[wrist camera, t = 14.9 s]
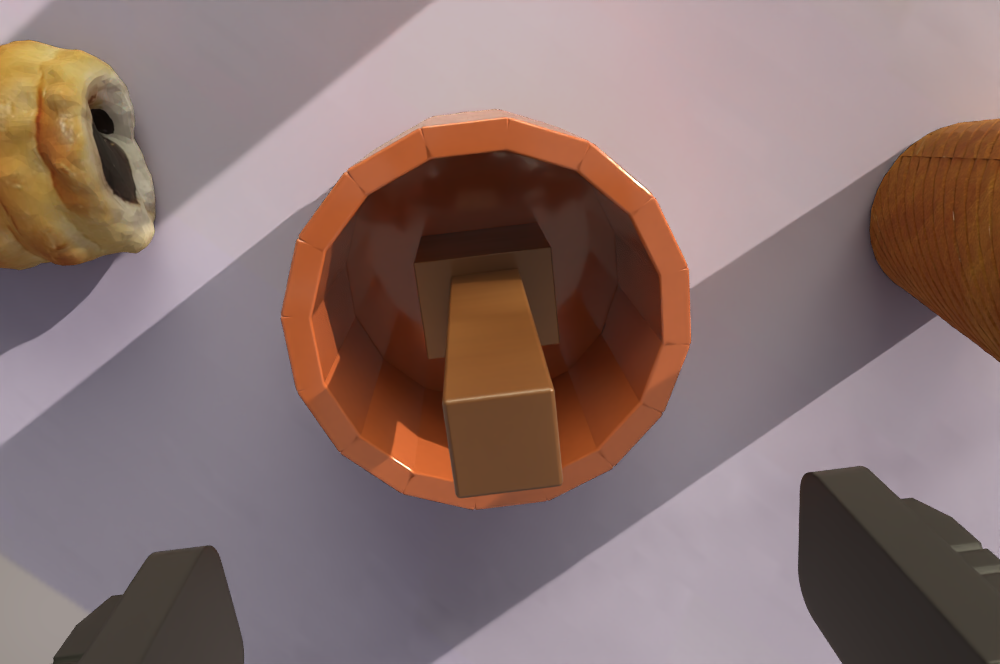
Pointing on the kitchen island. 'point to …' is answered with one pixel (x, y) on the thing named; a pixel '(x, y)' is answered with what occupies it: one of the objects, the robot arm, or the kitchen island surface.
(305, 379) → the crock
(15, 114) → the pastry
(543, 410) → the wooden mallet
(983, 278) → the disposable coffee cup
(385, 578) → the kitchen island surface
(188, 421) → the kitchen island surface
